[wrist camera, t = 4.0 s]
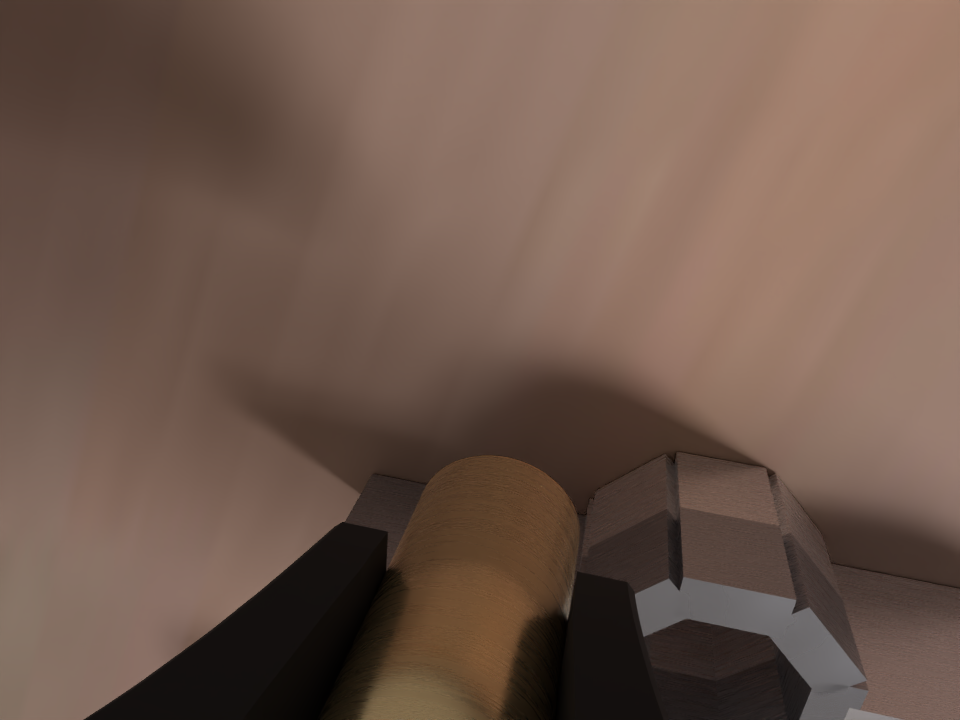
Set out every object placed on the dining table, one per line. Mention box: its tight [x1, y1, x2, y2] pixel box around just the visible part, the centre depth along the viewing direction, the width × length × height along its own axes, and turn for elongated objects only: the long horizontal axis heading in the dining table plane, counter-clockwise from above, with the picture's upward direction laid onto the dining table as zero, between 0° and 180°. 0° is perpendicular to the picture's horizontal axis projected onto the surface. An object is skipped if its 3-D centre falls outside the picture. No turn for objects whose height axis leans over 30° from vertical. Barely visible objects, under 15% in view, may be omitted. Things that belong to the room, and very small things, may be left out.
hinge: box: [345, 452, 960, 720], centre depth 18 cm, size 17×6×4 cm, turn 85°
